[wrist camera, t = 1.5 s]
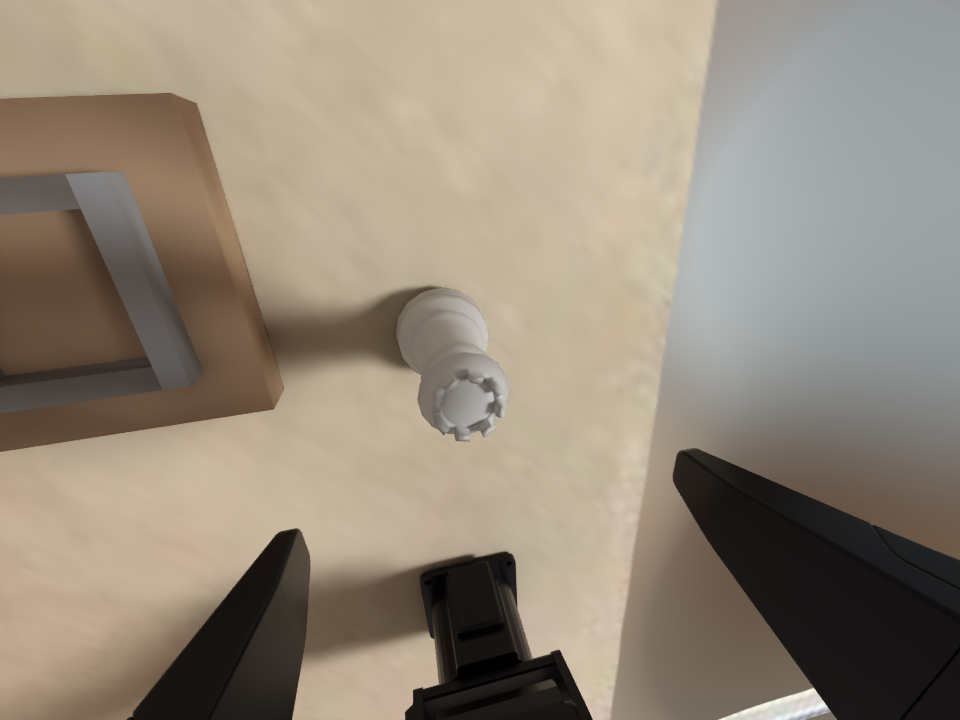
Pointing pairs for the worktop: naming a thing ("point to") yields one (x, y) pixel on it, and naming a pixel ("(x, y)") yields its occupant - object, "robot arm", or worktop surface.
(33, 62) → the worktop surface
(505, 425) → the worktop surface
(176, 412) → the plinth
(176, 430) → the worktop surface
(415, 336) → the rook chess piece
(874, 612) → the robot arm
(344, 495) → the worktop surface
